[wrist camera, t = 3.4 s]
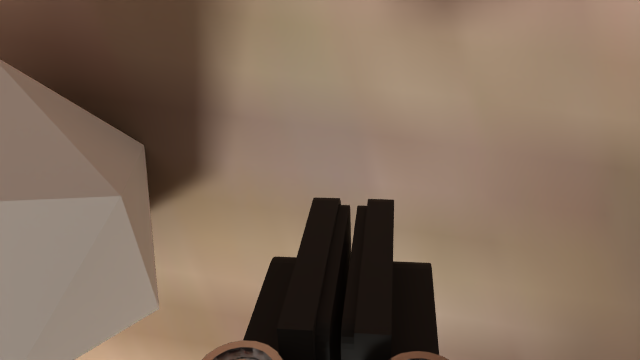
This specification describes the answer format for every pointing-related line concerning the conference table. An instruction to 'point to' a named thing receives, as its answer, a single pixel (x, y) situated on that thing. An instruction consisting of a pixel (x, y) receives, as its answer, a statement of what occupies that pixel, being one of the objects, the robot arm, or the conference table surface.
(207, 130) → the conference table surface
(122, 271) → the die
